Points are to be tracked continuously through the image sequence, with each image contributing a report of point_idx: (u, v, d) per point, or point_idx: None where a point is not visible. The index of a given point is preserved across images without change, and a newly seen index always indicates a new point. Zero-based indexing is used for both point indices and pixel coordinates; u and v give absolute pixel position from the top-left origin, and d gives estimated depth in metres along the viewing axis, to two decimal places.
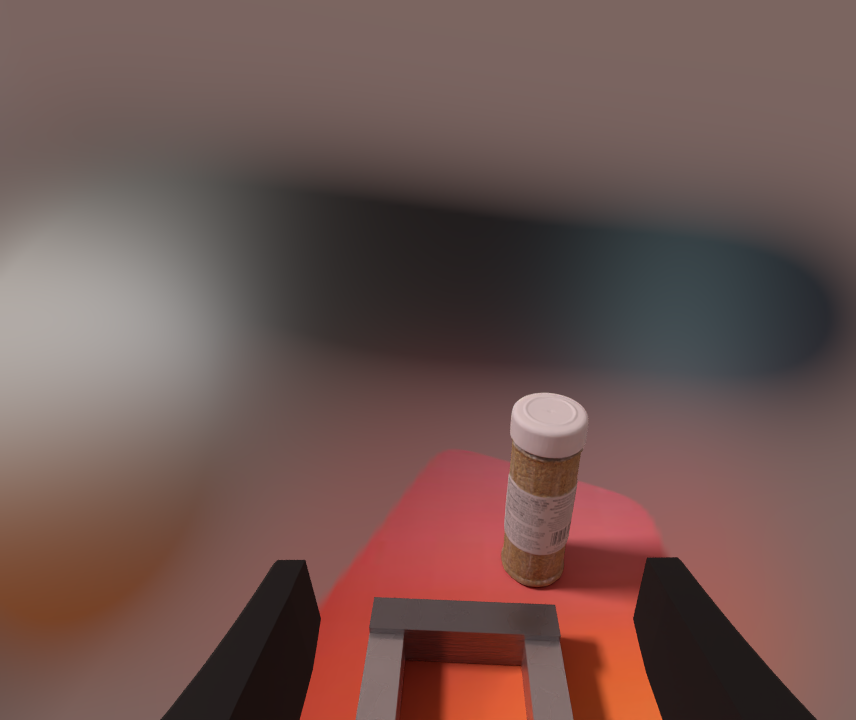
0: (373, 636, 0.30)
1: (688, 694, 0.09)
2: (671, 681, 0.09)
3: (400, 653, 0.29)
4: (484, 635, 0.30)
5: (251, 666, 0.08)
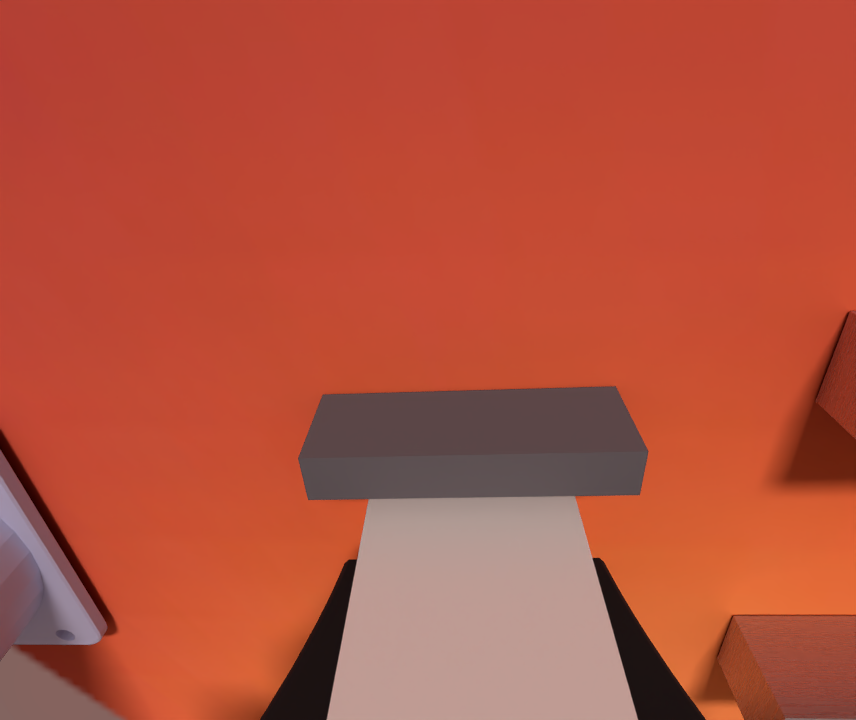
0: None
1: None
2: None
3: None
4: None
5: None
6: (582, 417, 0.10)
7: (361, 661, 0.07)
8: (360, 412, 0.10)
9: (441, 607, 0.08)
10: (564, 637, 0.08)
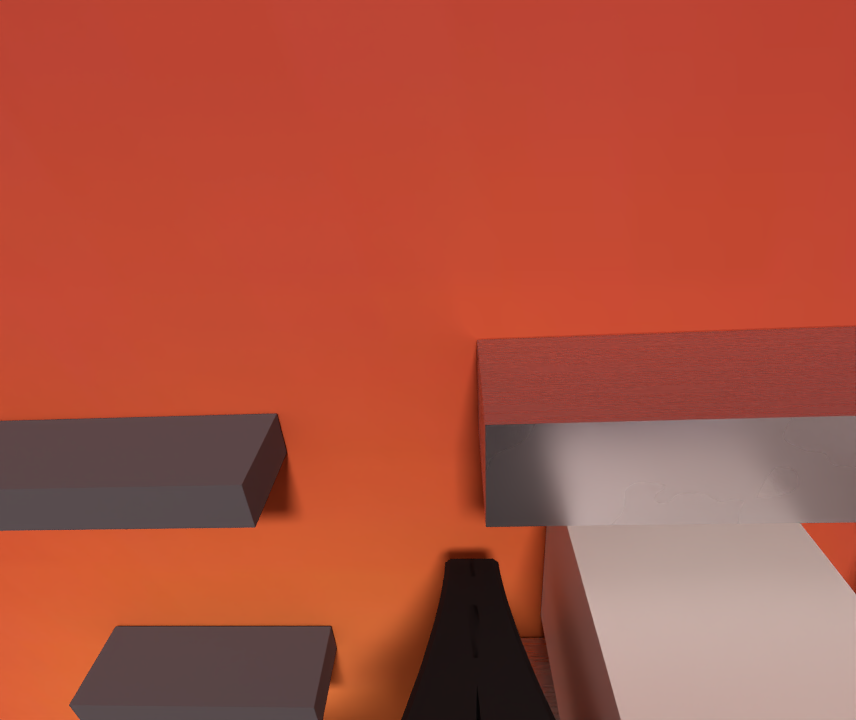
0: None
1: None
2: None
3: None
4: None
5: (474, 668, 0.08)
6: (212, 447, 0.09)
7: (645, 714, 0.07)
8: (9, 440, 0.10)
9: (707, 647, 0.07)
10: None
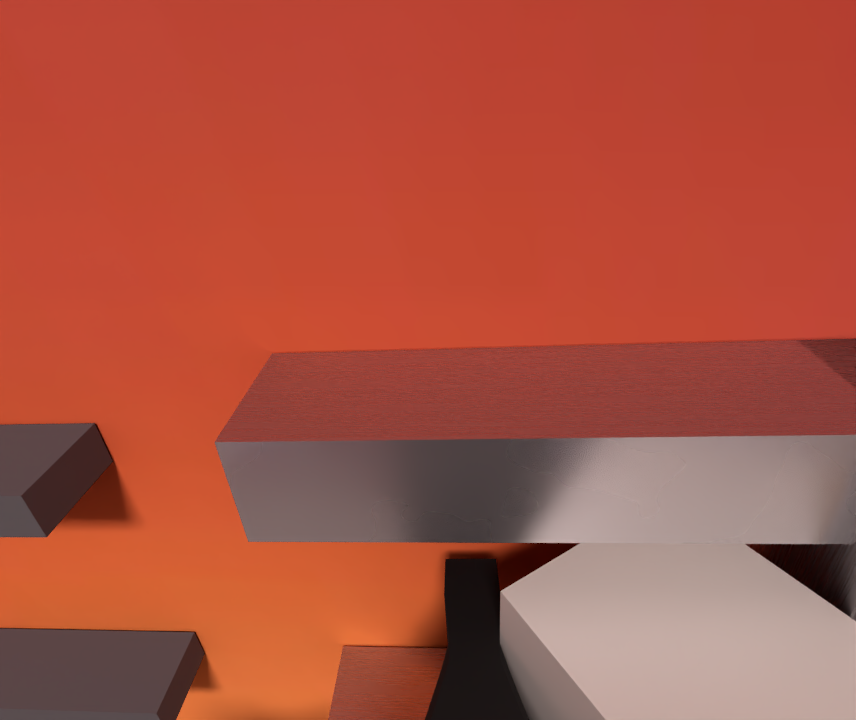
0: None
1: None
2: None
3: (773, 540, 0.07)
4: None
5: (496, 668, 0.08)
6: (15, 457, 0.10)
7: None
8: None
9: None
10: None
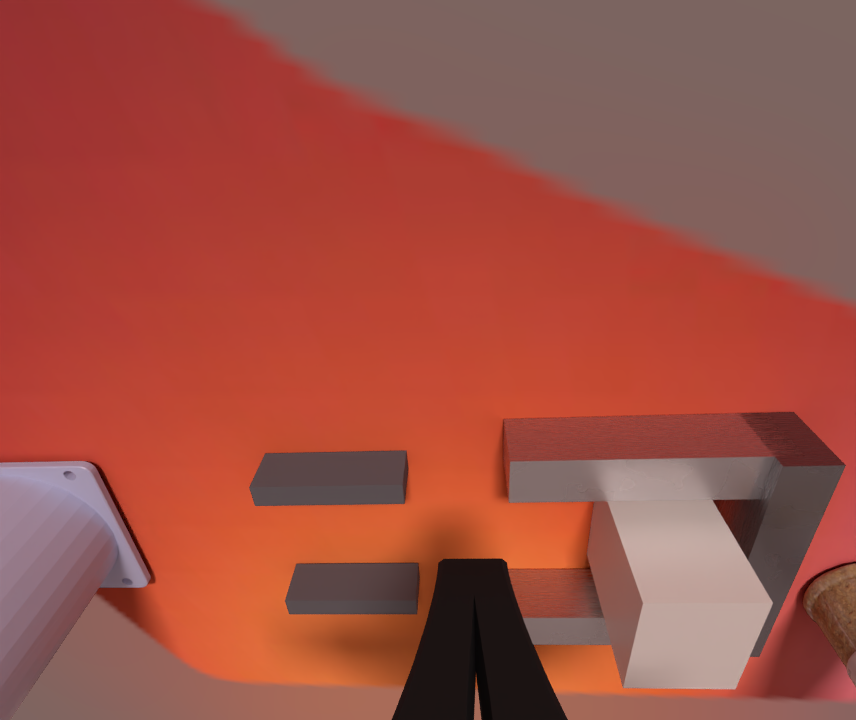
0: (766, 461, 0.18)
1: (483, 692, 0.09)
2: (480, 679, 0.10)
3: (727, 498, 0.19)
4: None
5: (466, 668, 0.08)
6: (382, 467, 0.21)
7: (640, 568, 0.18)
8: (281, 463, 0.21)
9: (666, 548, 0.18)
10: (725, 559, 0.18)
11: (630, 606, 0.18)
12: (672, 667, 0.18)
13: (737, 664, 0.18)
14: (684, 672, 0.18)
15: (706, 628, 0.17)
